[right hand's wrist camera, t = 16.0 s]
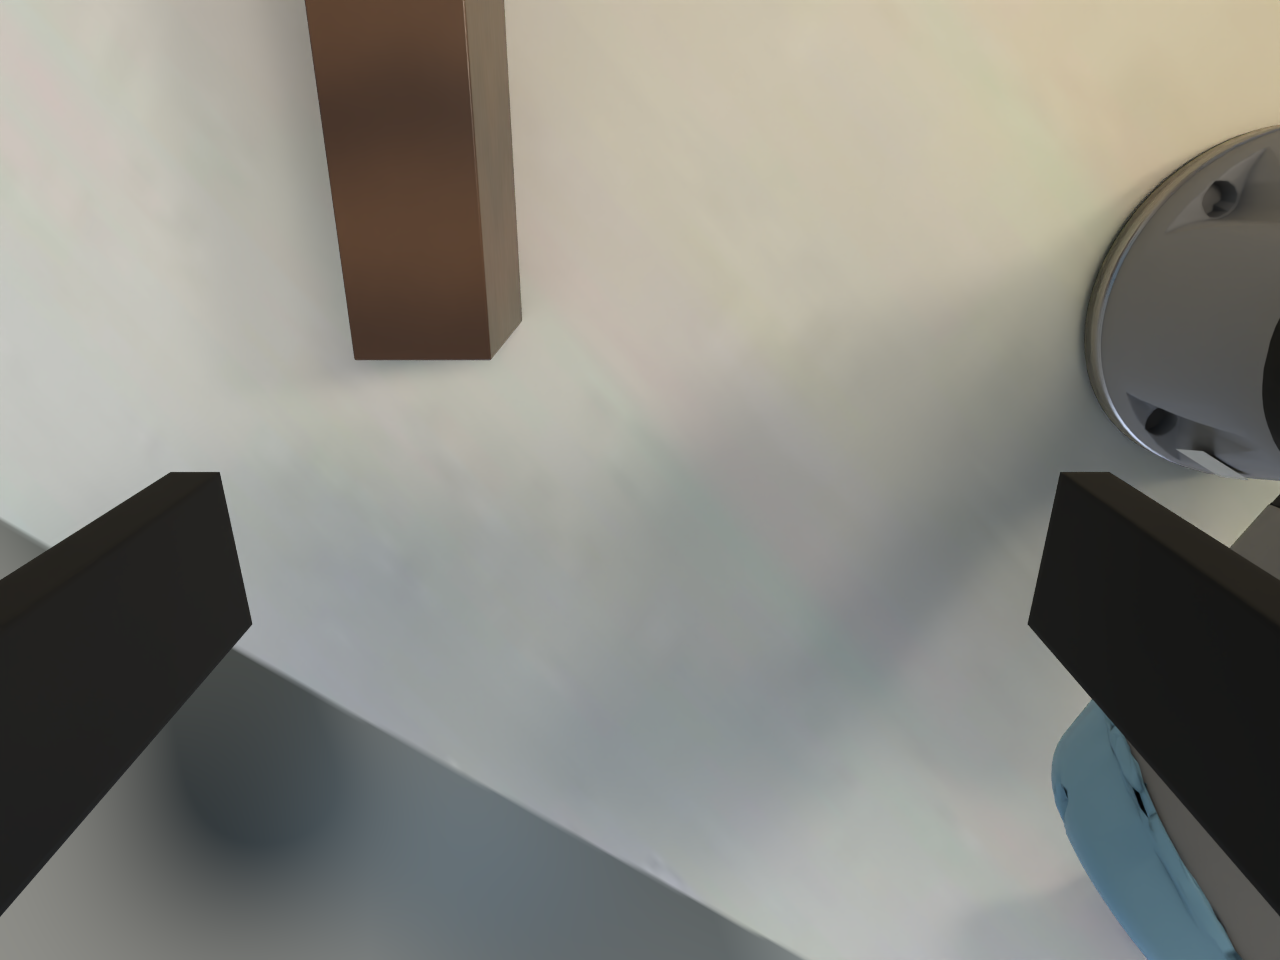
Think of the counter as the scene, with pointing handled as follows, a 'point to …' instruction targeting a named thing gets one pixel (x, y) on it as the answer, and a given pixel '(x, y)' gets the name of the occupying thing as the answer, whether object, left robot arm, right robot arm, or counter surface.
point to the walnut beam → (420, 173)
